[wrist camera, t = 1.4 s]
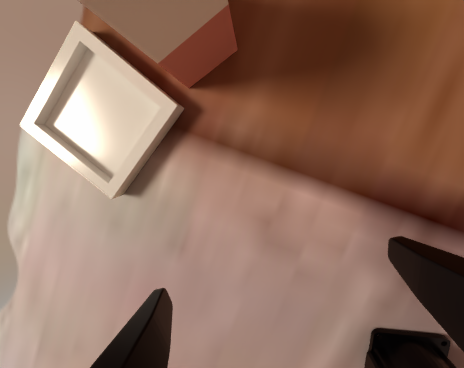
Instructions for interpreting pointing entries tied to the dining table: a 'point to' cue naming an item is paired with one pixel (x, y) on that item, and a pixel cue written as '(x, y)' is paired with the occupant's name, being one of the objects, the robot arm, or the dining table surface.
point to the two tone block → (173, 32)
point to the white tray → (99, 112)
